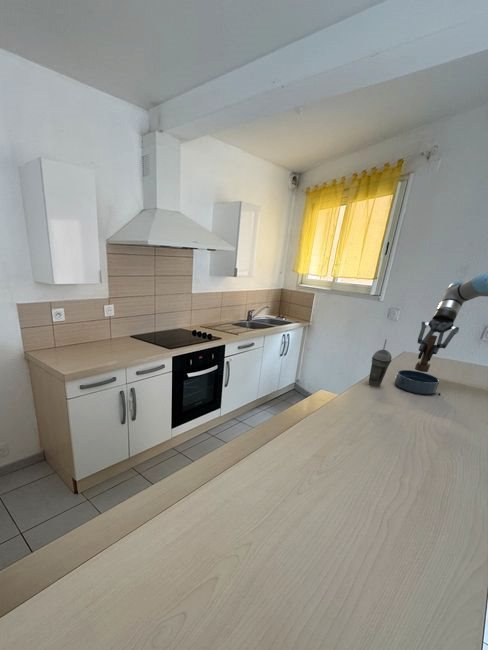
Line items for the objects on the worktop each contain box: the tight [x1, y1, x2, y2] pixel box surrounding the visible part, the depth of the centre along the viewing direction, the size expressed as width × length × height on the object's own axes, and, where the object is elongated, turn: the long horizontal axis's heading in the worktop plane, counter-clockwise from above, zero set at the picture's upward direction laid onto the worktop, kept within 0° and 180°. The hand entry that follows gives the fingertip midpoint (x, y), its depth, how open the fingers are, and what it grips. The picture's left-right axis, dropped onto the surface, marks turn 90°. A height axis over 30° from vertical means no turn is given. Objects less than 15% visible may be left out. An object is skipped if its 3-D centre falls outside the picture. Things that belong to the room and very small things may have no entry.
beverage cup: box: [368, 338, 392, 387], centre depth 137 cm, size 7×7×20 cm
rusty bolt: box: [414, 334, 438, 373], centre depth 135 cm, size 5×5×15 cm
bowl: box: [393, 369, 441, 395], centre depth 138 cm, size 15×15×6 cm
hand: (424, 358), depth 133 cm, fingers closed on rusty bolt, 3 cm apart
